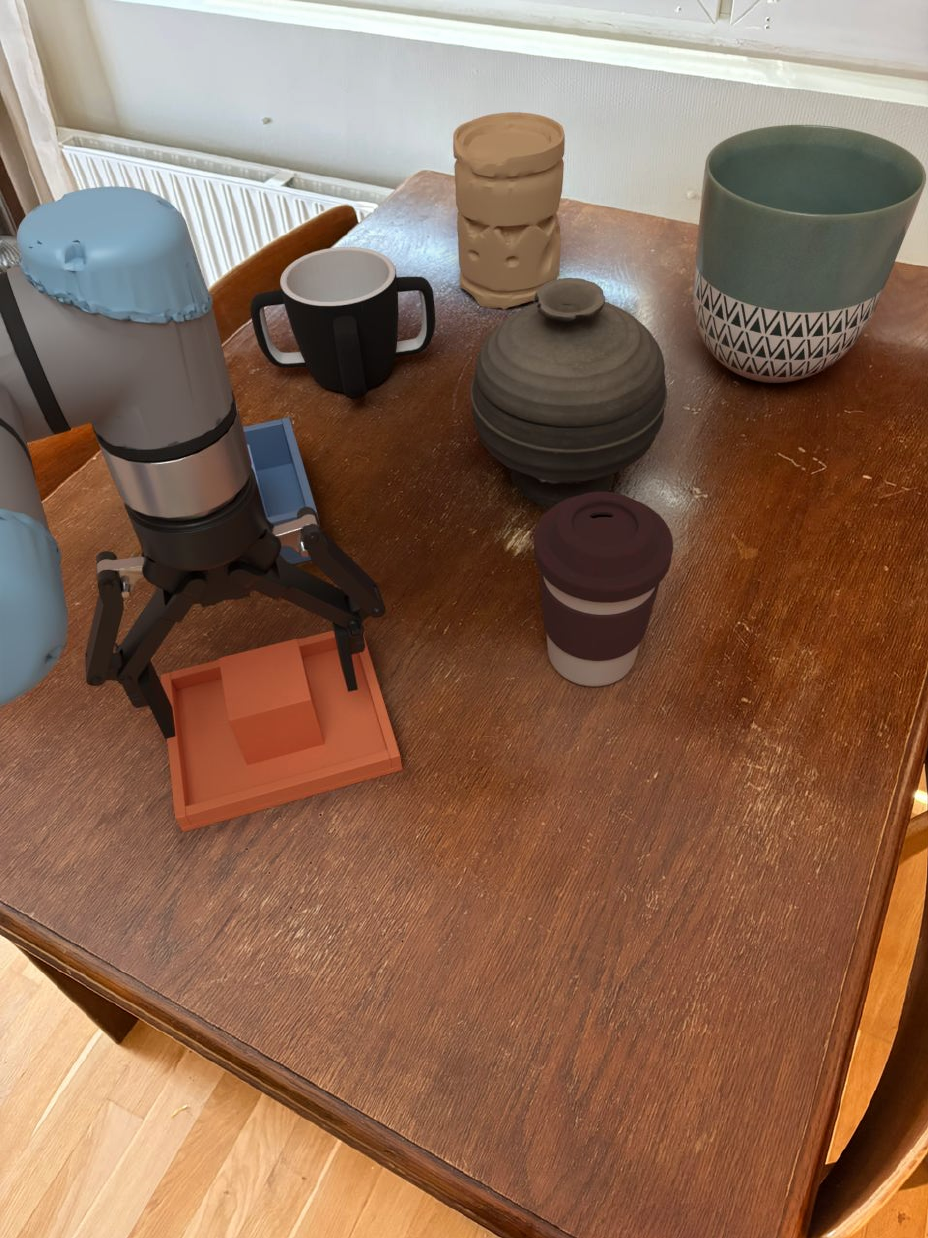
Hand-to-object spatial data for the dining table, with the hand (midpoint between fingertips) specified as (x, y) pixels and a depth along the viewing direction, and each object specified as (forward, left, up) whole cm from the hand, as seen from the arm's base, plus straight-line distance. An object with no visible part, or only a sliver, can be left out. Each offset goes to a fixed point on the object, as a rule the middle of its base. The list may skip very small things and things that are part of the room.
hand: (260, 700), depth 67 cm
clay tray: (+1, 0, -4) cm, 5 cm away
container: (+40, +58, -5) cm, 71 cm away
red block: (+1, 0, -4) cm, 4 cm away
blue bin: (+1, +25, -4) cm, 26 cm away
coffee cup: (+27, -1, -5) cm, 27 cm away
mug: (+17, +46, -5) cm, 49 cm away
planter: (+61, +31, -5) cm, 68 cm away
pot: (+33, +21, -5) cm, 39 cm away
